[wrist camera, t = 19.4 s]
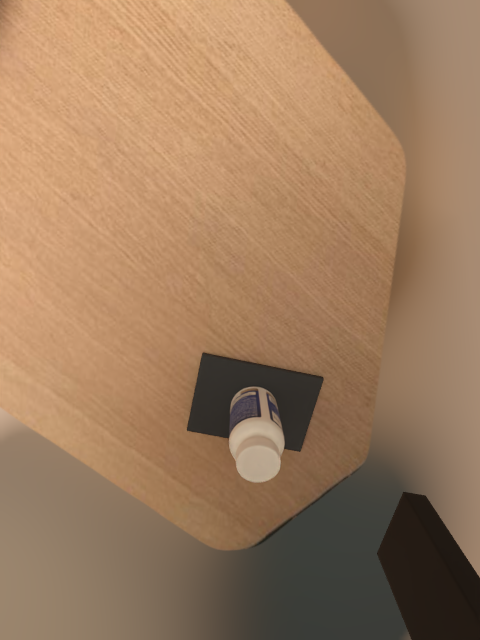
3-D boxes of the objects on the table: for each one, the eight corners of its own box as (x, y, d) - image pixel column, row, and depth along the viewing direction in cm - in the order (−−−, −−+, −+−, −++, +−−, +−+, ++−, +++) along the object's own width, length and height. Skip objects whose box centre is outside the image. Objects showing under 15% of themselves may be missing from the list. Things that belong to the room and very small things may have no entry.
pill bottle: (224, 419, 39) (220, 481, 30) (237, 379, 38) (237, 432, 29) (268, 430, 40) (277, 495, 31) (283, 392, 38) (297, 447, 29)
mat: (322, 376, 39) (323, 379, 38) (299, 448, 41) (300, 451, 41) (202, 352, 38) (202, 354, 37) (187, 427, 40) (186, 430, 40)
